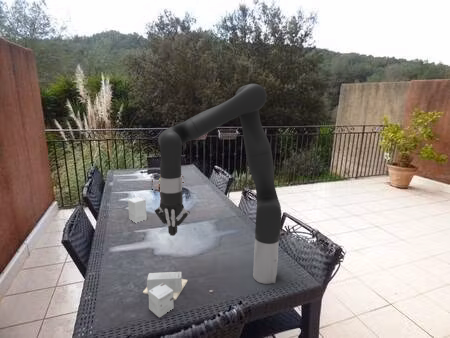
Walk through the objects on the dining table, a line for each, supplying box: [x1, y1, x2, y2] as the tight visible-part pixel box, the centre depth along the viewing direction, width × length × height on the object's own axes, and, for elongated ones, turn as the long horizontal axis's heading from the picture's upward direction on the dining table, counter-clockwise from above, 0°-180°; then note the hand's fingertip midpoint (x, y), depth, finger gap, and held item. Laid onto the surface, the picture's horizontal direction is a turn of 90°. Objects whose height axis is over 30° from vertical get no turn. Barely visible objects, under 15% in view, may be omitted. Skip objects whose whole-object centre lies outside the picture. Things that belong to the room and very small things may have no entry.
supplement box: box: [127, 196, 148, 224], centre depth 163 cm, size 7×7×13 cm
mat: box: [142, 278, 189, 301], centre depth 108 cm, size 13×11×1 cm
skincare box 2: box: [147, 283, 174, 318], centre depth 96 cm, size 6×6×7 cm
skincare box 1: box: [146, 271, 183, 293], centre depth 105 cm, size 6×4×12 cm
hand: (172, 234), depth 103 cm, fingers closed
